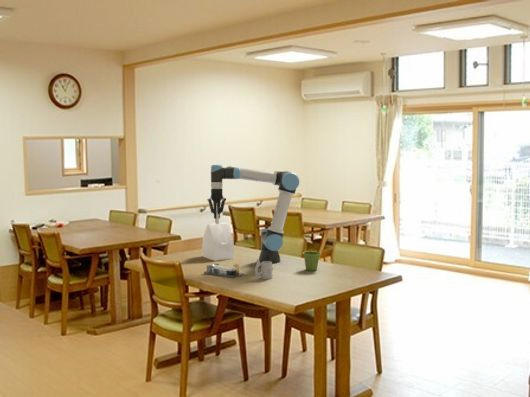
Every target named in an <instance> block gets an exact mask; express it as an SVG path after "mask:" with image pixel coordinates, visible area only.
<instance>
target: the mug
mask: <svg viewBox="0 0 530 397" xmlns="http://www.w3.org/2000/svg"><path fill="white" fill-rule="evenodd" d="M259 267H260V271H259ZM254 275H255V276H256V278H259V277H260V279H261V280H270V279H273V276H274V275H273V263H272V262H270V261H263V262H259V259H256V264H255V268H254Z"/></svg>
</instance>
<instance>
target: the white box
mask: <svg viewBox="0 0 530 397" xmlns="http://www.w3.org/2000/svg"><path fill="white" fill-rule="evenodd" d="M217 225H218V226H217ZM229 225H230V224H229V222H227V221H226V222H219V224H216V223H215V222H213V223H207V224H206V228H205V230H204V235H203V237H202V239H201V240H202V241H201V245H202V246H201V247H202V248H201V249H202V250H201V255H202V257H203V258H206V259H209V260H212V261H215V262H216V261H224V260H231V259H232V260H233V259H235V248H234V247H235V246H234V245H235V242H234V239H233V236H232V233H231V229H230V226H229Z"/></svg>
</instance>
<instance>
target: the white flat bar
mask: <svg viewBox="0 0 530 397" xmlns="http://www.w3.org/2000/svg"><path fill="white" fill-rule="evenodd" d="M216 264H217V263H216ZM216 264H215V263H213V264H211V265H210V266H212V269H219V270H224V271H234V270H235V267H234V266H233V267H231V266H226V265H221V264H219V265H216Z"/></svg>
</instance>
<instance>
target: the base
mask: <svg viewBox="0 0 530 397" xmlns="http://www.w3.org/2000/svg"><path fill="white" fill-rule="evenodd" d="M214 264H216V265H220V263H214ZM233 268H235V270H234V271H226V270H220V269H214V268H212V266H210V265H209V264H208V265H206V271H203V273H204V274H206V275H213V276H219V277H226V278H232V279H237V278H239V277H242V276H243V277H244V275H245V274H244V273H243V272H240V264H238V263H234V264H233Z"/></svg>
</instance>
